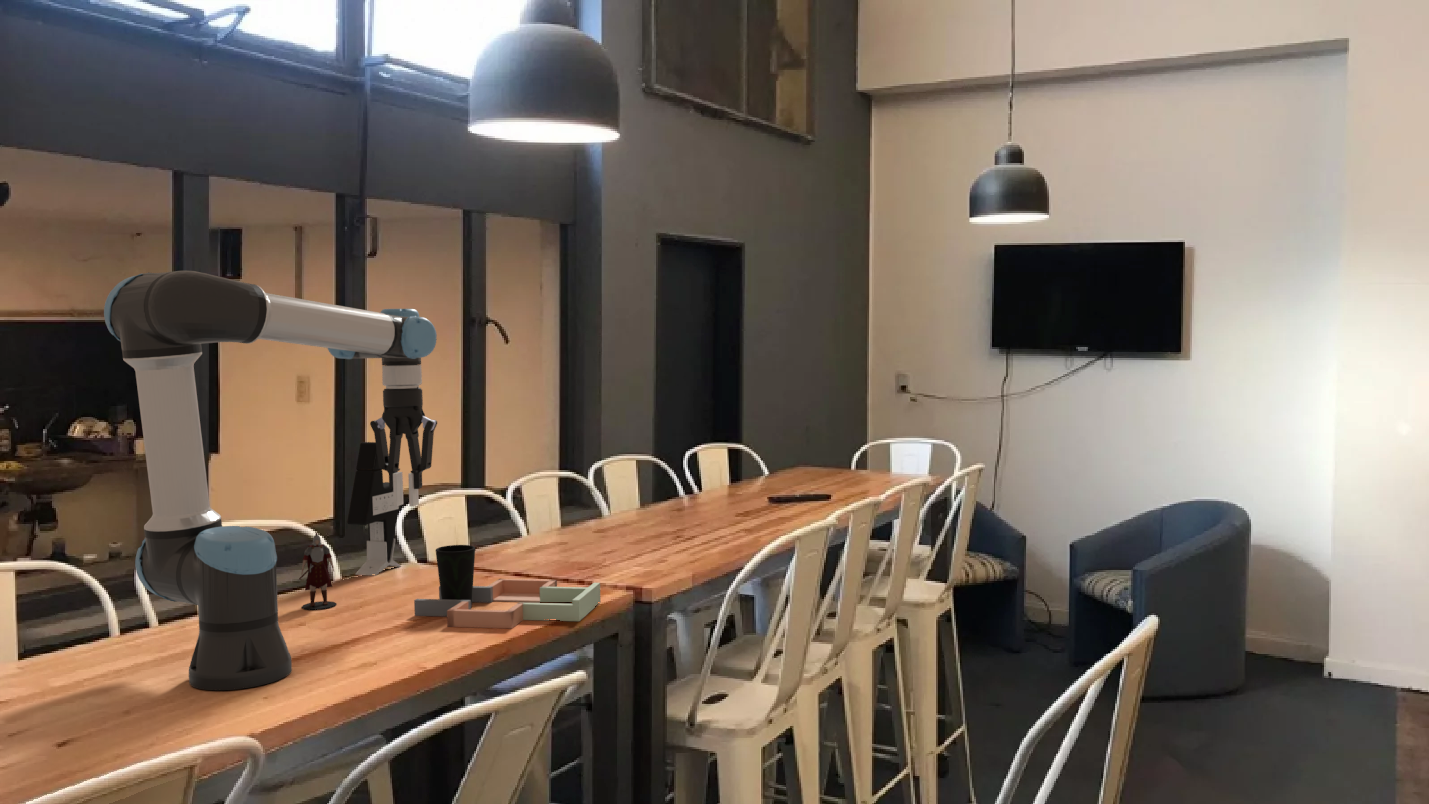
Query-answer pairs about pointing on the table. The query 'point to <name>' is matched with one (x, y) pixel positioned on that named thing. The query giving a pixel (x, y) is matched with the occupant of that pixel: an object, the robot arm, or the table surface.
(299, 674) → the table surface
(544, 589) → the track
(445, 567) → the cup
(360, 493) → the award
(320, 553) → the figurine
